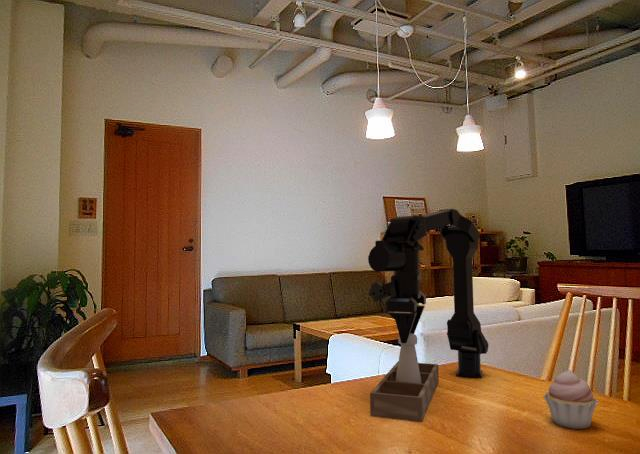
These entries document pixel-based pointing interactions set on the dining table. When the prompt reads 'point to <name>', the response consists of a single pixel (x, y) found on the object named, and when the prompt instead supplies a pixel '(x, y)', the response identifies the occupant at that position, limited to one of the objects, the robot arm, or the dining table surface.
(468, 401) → the dining table surface
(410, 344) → the salt shaker
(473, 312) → the robot arm
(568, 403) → the cupcake
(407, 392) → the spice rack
